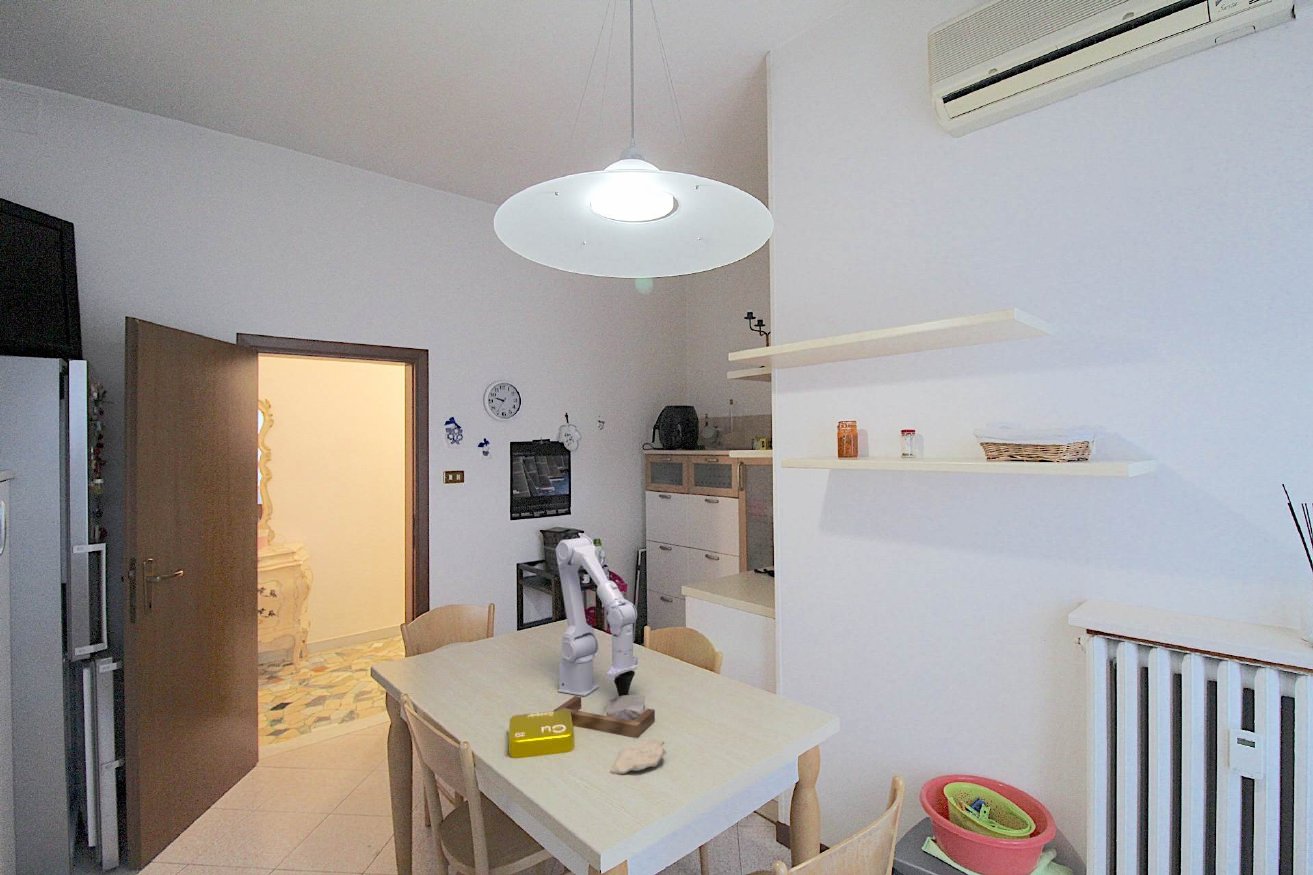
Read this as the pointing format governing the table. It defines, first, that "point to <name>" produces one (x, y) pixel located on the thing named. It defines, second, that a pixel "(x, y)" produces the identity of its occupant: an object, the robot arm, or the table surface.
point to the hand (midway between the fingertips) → (623, 698)
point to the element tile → (541, 734)
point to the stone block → (626, 707)
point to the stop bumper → (608, 720)
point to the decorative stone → (638, 756)
